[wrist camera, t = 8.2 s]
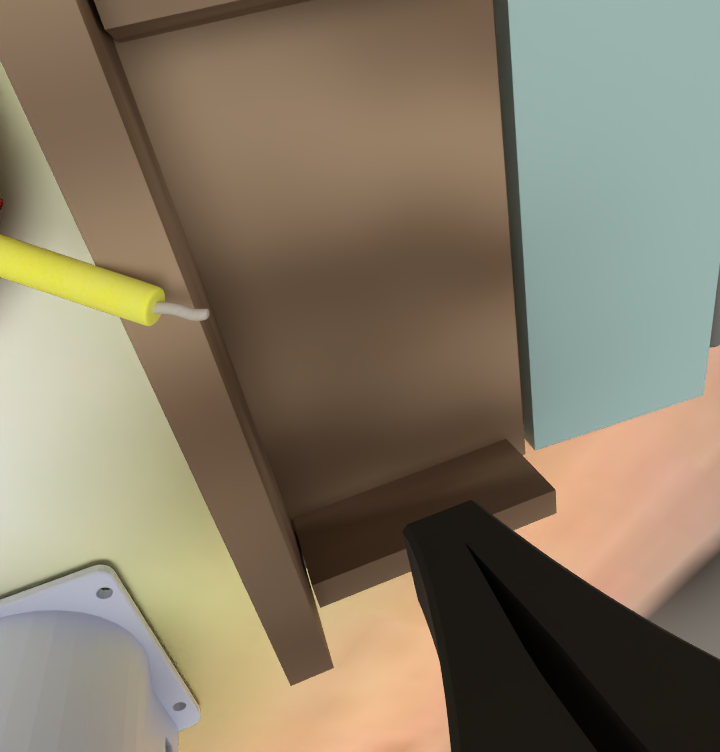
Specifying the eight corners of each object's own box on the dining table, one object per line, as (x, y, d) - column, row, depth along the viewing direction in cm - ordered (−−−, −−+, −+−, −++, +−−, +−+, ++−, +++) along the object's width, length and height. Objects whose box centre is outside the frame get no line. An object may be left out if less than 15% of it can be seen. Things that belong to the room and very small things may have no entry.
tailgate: (524, 438, 21) (703, 380, 22) (535, 450, 21) (719, 389, 21) (487, -88, 13) (768, -150, 14) (501, -97, 13) (797, -162, 14)
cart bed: (506, 448, 22) (616, 567, 17) (264, 539, 21) (298, 702, 15) (453, -118, 14) (648, -263, 8) (29, -34, 12) (-94, -143, 6)
